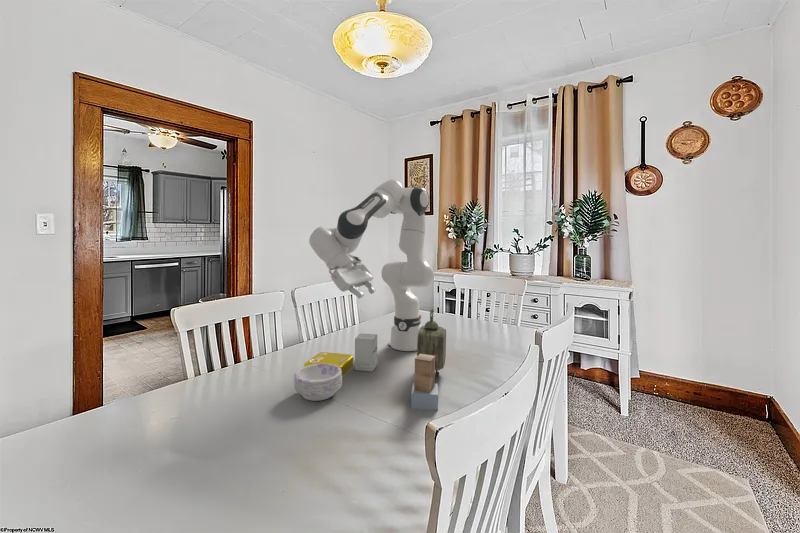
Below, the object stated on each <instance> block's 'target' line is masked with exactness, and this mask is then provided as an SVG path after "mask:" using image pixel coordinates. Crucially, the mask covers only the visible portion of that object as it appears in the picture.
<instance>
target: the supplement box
mask: <svg viewBox="0 0 800 533" xmlns="http://www.w3.org/2000/svg"><path fill="white" fill-rule="evenodd" d="M376 366H378V334H377V333H375V334H374V333H359V334H358V335H357V336H356V337H355V338H354V370H355V371H361V372H373V371H374V370H375V368H376Z"/></svg>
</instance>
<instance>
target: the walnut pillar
mask: <svg viewBox="0 0 800 533" xmlns="http://www.w3.org/2000/svg"><path fill="white" fill-rule="evenodd" d="M435 372H436V370H435V356H433V355H426V354H419V355H418V356H417V355H416V357H415V358H414V382H413V383H414V390H416V391H421V392H427V393H430V392H431V391H432V390H433V388H434V387H435V384H436V383H435V382H436V378H435V377H436V375H435Z"/></svg>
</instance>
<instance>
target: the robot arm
mask: <svg viewBox="0 0 800 533" xmlns="http://www.w3.org/2000/svg"><path fill="white" fill-rule="evenodd" d="M429 204H430V196H429V193H428V191H427V190H426V189H425V188H423V187H417V186H415V187H403V186H402V184H401V183H400V182H399V181H397V180H395V179H388V180H386V181H384V182H382V183H381V184H380V185H379V186H378V187H376V188H375V189H374V190H373V191H372V192H371V193H370V194H369V195H368V196H367V197H366V198H365V199H364V200H363V201H361V202H360V203H359V204H358V205H356V206H354V207H352V208H350V209H347V210H344V211H342V212H341V213H340V215H339V216H338V219H337V225H336V227H335V228H334V227H331V228H330V227H329V228H328V227H324V226H318V227H317V228H315V229H314V231H313V232H312V233H311V235H310V236H309V241H308V243H309V245H310V247H311V248H312V250H313V251H314V253H315V254H316V256H317V257H318V258H319V259H320V260H321V261H323V262H324V263H325V265H326V267H327V268H328V273H329V274H330V277H331V280H332V281H333V283H334V284H335V285H336V287H337V288H338V290H339V291H341V292H343V293H344V292H348V291H349V293H351V294H352V295H354V296H356V297H357V298H358V300H359V299H362V298H363V297H364V295H365V294H364V293H363V292H362V291H361V290H359V289H357V288H359V287H362V286H365V287H366V288H367V289H368V290H367V292H368V293H369V294H370V295H372V294H373V295H374V294H375V292H376V288H374V285H373V283H372V281H373V279H374V277H373V276H374V275H373V274H372V272H371V271H370V270H369V269H368V268H367V267H366V265H364V263H362V259H361V258H360V257H358V256H355V255H353V254H351V253H353V252H354V251H356V250H357V248H358V246H359V244H360V242H361V240H362V238H363V235H364V233H365V232H366V230H367V227H368V225H369V224H368V223H369V220H371V218H372V217H374V218H377V219H383V218H385V217H387V216H388V215H389V214H393V215H396V214H402V216H403V217H402V218H403V219H402V223H401V226H400V227H401V228H400V234H399V242H398V247H399V250H400V251H401V252H402V253H404V255H406V261H391V262H387V263H385V264H384V265H383V266H382V269H381V272H380V273H381V278H382V280H383V282H385V283H386V284H387V286H388V287H389V289H390V291H391V293H392V295H393V301H394V317H393V324H394V325H393V326H391V328H390V341H388V342H387V345H388V346H390V347H391V348H392V349H394V350H396V351H404V352H412V351H417V338H418V332H419V329H420V327H421V326H423V325H422V323H421V320H422V314H420V301H419V297H418V296H416V295H415V294H414V293H413V292H412V290H411V288H428V287H430V286H431V285H432V284H433V282H434V280H435V272H434V269H433V267H432V266H431V265H430V264H429V262H428V261H427V260H426V256H425V251H424V247H425V246H424V243H425V233H426V214H425V213H426V211H427V210H428V208H429ZM410 287H411V288H410Z"/></svg>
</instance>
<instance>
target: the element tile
mask: <svg viewBox="0 0 800 533" xmlns="http://www.w3.org/2000/svg"><path fill="white" fill-rule="evenodd" d="M314 364H333V365H336V366H338V367H340V368H341V370H342V377H343V376H344V375H346V373H347V372H348V371H349V370H351V369H352V368H353V367H354V355H352V354H347V353H338V352H337V353H336V352H323V351H321V352H319V353H317V354H315V355H314V356H313V357H311V358H310V359H308V360H307V361H305V363H303V367H306V366H309V365H314Z"/></svg>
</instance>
